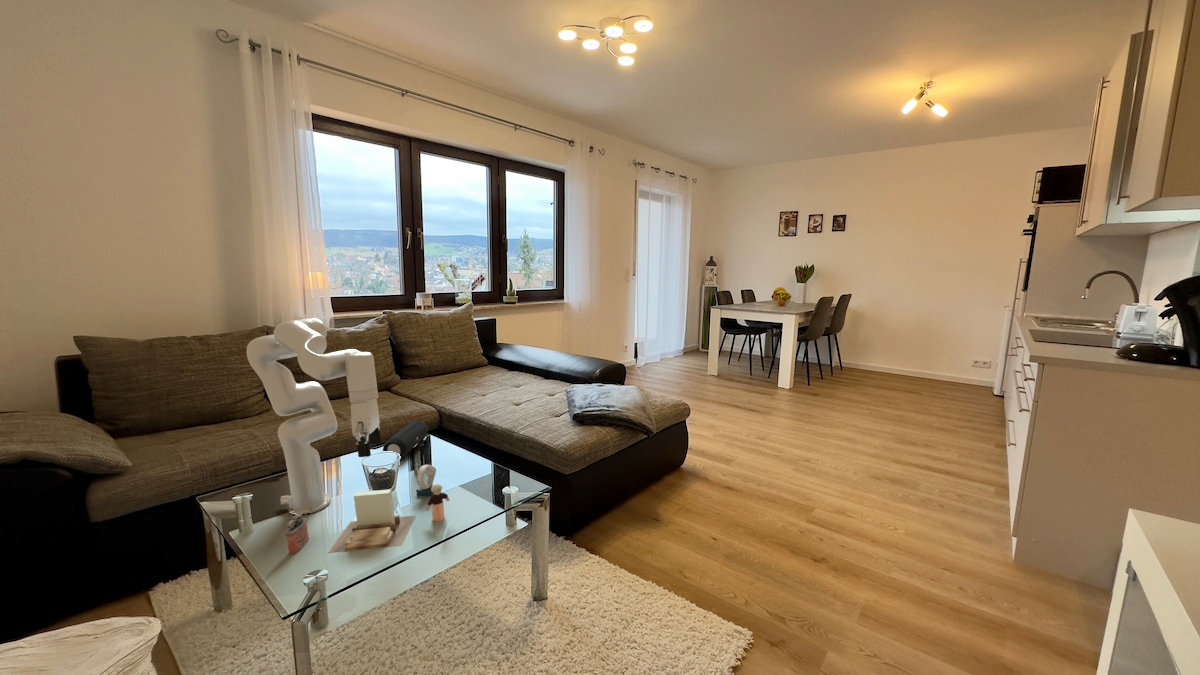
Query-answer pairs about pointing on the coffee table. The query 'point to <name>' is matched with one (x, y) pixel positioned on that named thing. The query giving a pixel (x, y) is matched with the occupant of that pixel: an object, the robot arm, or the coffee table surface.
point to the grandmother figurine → (437, 503)
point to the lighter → (296, 534)
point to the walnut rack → (398, 528)
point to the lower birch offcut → (368, 542)
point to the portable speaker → (406, 438)
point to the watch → (426, 488)
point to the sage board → (374, 507)
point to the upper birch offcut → (370, 534)
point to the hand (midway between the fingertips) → (370, 449)
